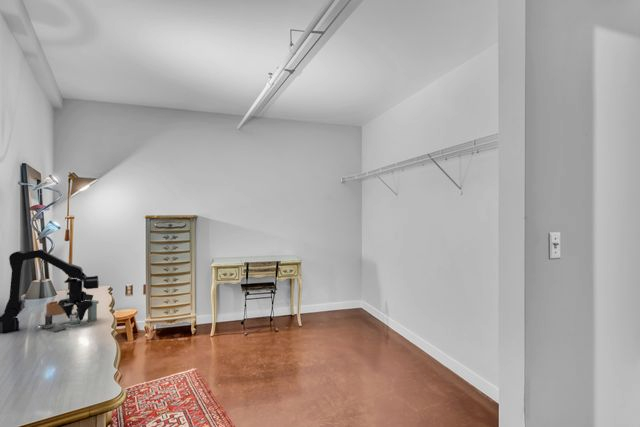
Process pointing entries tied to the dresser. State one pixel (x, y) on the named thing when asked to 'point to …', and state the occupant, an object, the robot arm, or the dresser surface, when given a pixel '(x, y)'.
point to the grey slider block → (47, 323)
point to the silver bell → (74, 318)
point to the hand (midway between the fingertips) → (75, 319)
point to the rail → (55, 328)
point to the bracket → (54, 308)
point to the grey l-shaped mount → (91, 314)
